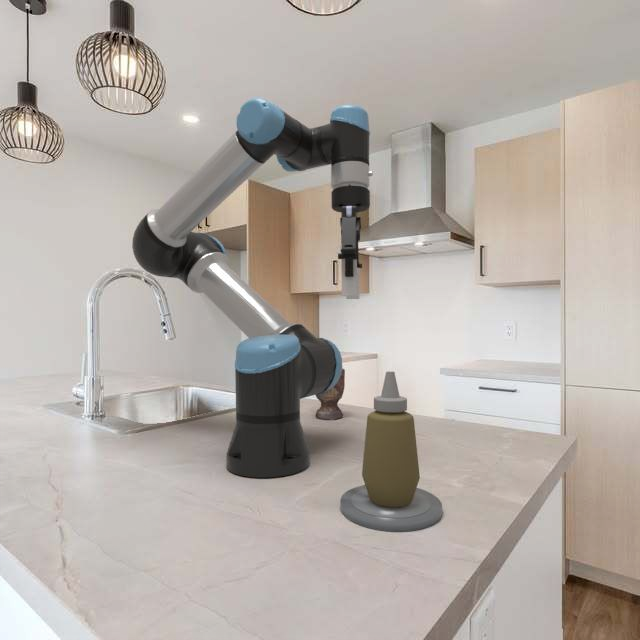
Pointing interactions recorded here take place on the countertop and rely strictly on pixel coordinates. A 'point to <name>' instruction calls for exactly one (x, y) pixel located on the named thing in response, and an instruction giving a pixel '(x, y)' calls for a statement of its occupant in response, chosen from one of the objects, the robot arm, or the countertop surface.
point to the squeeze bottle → (390, 449)
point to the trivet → (391, 511)
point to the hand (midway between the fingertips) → (351, 297)
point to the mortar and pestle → (331, 400)
